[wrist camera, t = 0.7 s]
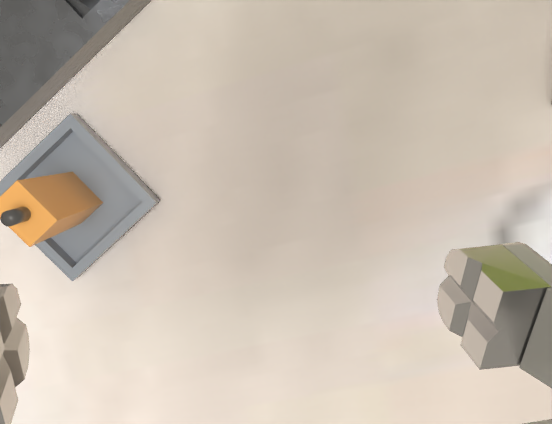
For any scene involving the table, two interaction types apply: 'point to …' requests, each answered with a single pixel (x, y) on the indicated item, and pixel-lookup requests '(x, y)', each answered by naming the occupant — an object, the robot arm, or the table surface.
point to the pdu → (50, 49)
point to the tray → (99, 179)
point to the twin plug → (89, 3)
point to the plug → (46, 206)
